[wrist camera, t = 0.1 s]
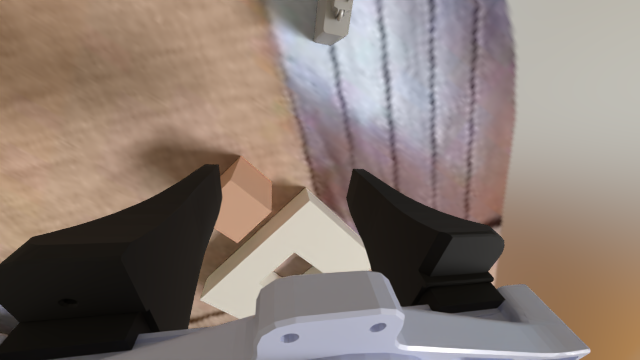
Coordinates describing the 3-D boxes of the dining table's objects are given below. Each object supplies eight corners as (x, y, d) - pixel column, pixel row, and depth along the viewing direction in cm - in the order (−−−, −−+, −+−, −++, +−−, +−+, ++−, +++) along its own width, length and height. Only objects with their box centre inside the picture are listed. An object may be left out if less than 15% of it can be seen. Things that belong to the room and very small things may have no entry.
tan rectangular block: (245, 206, 24) (237, 243, 19) (213, 183, 22) (194, 215, 17) (272, 181, 24) (271, 211, 18) (241, 155, 22) (230, 180, 17)
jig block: (281, 317, 32) (282, 339, 29) (207, 277, 27) (199, 299, 24) (369, 245, 29) (379, 261, 27) (305, 187, 24) (309, 200, 22)
